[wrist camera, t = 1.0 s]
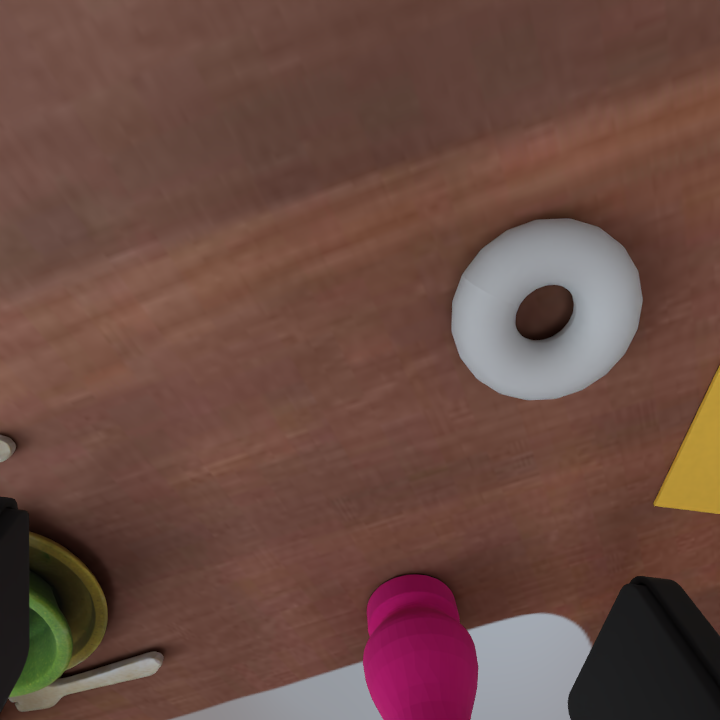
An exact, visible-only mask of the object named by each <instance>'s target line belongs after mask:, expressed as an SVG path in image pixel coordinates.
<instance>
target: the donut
mask: <svg viewBox="0 0 720 720" xmlns="http://www.w3.org/2000/svg"><path fill="white" fill-rule="evenodd" d="M546 285H560V286H563V287H564V288H566V289H567V290H569V291H570V293H571V294H572V297H573V302H574V308H573V314H572V316H571V318H570V320H569V322H568V323H567V324H566V325H565V327H564V328H563V329H562V330H561V331H560V332H558V333H557V334H555V335H554V336H552V337H550V338H547V339H544V340H530V339H527V338H524V337H523V336H521V335H520V333H519V332H518V330H517V328H516V325H515V321H516V313H517V310H518V308H519V305H520V304H521V302H522V301H523V300H524V299H525V297H526V296H527V295H528V294H530V293H531V292H533V291H534V290H535V289H538V288H540V287H543V286H546ZM642 300H643V298H642V292H641V286H640V279H639V273H638V270H637V268H636V267H635V265H634V263H633V261H632V260H631V258H630V256H629V255H628V253H627V251H626V249H625V248H624V247H623V246H622V245H621V244H620V243H619V242H618V241H616V240H615V239H614V238H612V237H611V236H610V235H608V234H607V233H606V232H605V231H603V230H602V229H601V228H599V227H597V226H594V225H590V224H587V223H584V222H580V221H577V220H574V219H569V218H562V219H540V220H534V221H531V222H528V223H526V224H523V225H520V226H517V227H515V228H512V229H509V230H506V231H505V232H504V233H502V234H501V235H500V236H498V237H497V238H496V239H494V240H493V241H492V242H490V243H489V244H488V245H486V246H485V247H484V248H482V249H481V250H480V251H479V253H478V254H477V255H476V257H475V258H474V259H473V261H472V262H471V263H470V265H469V266H468V267H467V269H466V270H465V271H464V273H463V274H462V277H461V279H460V282H459V285H458V287H457V290H456V293H455V296H454V298H453V301H452V334H453V337H454V340H455V343H456V347H457V350H458V353H459V356H460V358H461V359H462V361H463V362H464V363H465V364H466V366H467V367H468V368H469V369H470V371H471V372H472V373H473V375H474V376H475V377H476V378H477V379H478V380H479V381H481V382H482V383H484V384H486V385H487V386H489V387H490V388H492V389H494V390H495V391H497V392H498V393H500V394H503V395H508V396H512V397H516V398H520V399H524V400H541V399H557V398H560V397H563V396H566V395H569V394H572V393H575V392H578V391H581V390H583V389H584V388H586V387H587V386H589V385H591V384H592V383H594V382H595V381H597V380H598V379H600V378H601V377H603V376H604V375H606V374H607V373H608V372H609V371H610V369H611V368H612V367H613V366H614V365H615V364H616V363H617V362H618V361H619V360H620V359H621V357H622V356H623V355H624V354H625V353H626V351H627V349H628V347H629V345H630V343H631V341H632V339H633V337H634V335H635V333H636V331H637V329H638V324H639V319H640V313H641V308H642Z"/></svg>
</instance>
